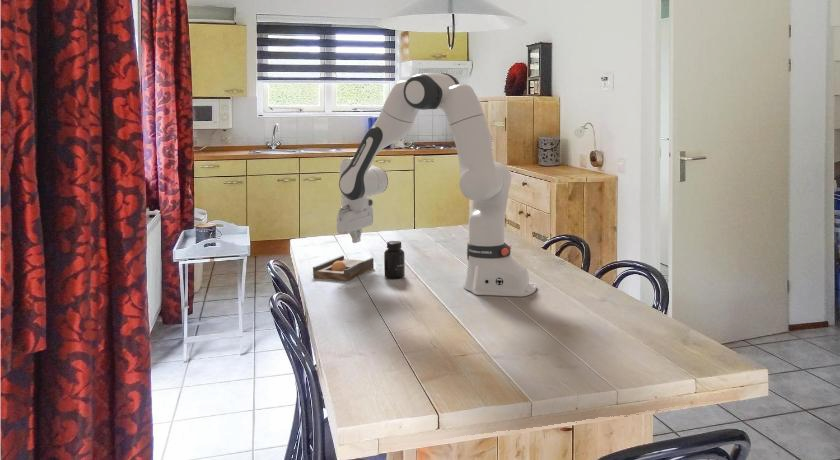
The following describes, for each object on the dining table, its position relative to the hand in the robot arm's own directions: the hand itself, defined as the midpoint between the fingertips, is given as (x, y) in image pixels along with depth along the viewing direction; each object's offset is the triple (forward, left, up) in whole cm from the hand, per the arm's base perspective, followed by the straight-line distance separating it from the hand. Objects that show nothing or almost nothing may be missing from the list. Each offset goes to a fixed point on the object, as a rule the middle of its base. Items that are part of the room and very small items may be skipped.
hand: (356, 242), depth 238 cm
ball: (+1, +11, -7) cm, 13 cm away
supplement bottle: (-18, +7, -10) cm, 22 cm away
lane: (+1, +8, -9) cm, 12 cm away
